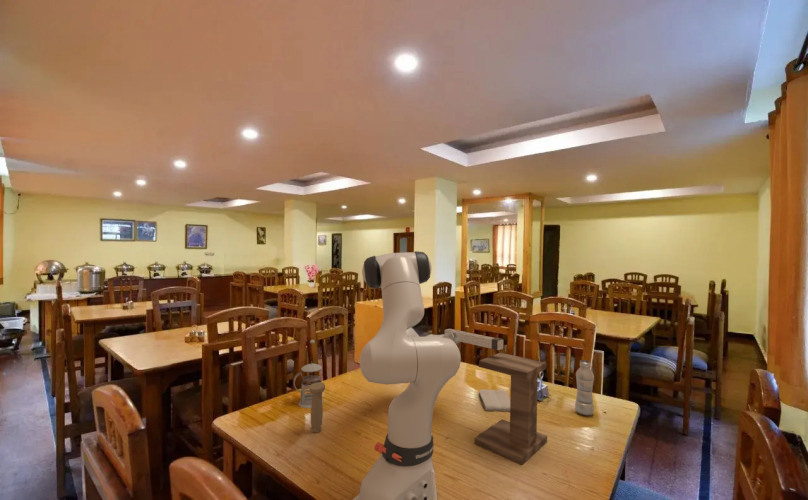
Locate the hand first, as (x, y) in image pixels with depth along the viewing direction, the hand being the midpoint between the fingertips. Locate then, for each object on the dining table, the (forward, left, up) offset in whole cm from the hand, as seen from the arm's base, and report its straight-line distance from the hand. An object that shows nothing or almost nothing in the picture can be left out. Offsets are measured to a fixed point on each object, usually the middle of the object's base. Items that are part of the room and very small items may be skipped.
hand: (457, 334), depth 129 cm
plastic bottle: (+40, -31, -31) cm, 60 cm away
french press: (-30, +50, -31) cm, 66 cm away
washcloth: (+25, -2, -32) cm, 40 cm away
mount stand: (0, -21, -31) cm, 38 cm away
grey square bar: (0, -6, -2) cm, 7 cm away
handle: (-40, +29, -31) cm, 58 cm away
